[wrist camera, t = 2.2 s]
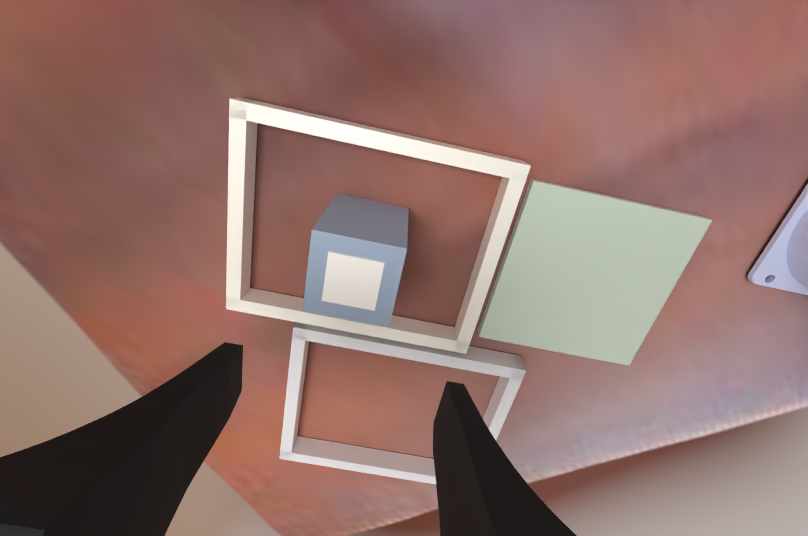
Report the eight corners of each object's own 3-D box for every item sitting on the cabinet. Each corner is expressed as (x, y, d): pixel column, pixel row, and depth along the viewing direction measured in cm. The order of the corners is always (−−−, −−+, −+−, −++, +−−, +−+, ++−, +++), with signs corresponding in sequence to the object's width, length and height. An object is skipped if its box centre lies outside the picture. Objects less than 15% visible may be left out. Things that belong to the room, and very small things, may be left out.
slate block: (408, 208, 22) (407, 249, 16) (394, 271, 23) (388, 328, 18) (337, 193, 21) (311, 230, 16) (328, 258, 23) (301, 312, 18)
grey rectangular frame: (520, 355, 26) (526, 370, 24) (471, 472, 30) (474, 490, 29) (299, 313, 25) (293, 327, 23) (285, 441, 30) (279, 458, 28)
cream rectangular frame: (523, 160, 20) (530, 165, 19) (463, 339, 25) (466, 353, 24) (242, 97, 19) (229, 98, 18) (236, 296, 24) (226, 308, 23)
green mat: (704, 216, 21) (712, 220, 21) (624, 359, 26) (628, 365, 25) (530, 178, 21) (533, 180, 20) (477, 331, 25) (478, 336, 24)
